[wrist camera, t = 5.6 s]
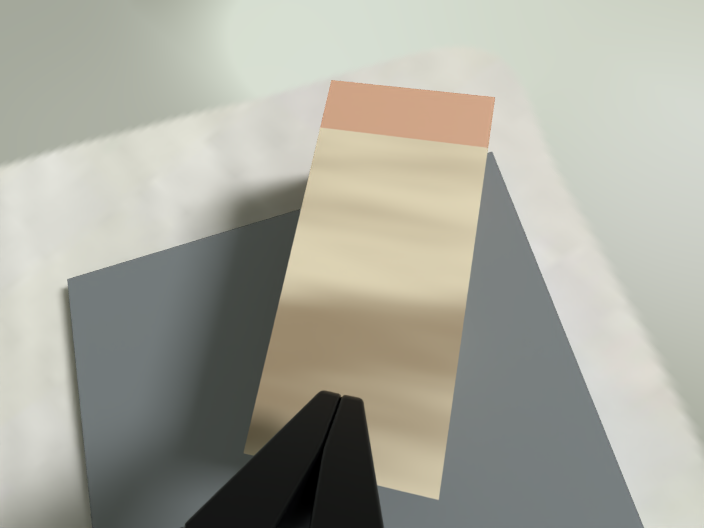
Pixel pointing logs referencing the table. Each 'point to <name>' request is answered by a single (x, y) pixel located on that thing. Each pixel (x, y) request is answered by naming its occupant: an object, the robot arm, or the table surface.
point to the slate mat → (248, 362)
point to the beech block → (382, 273)
